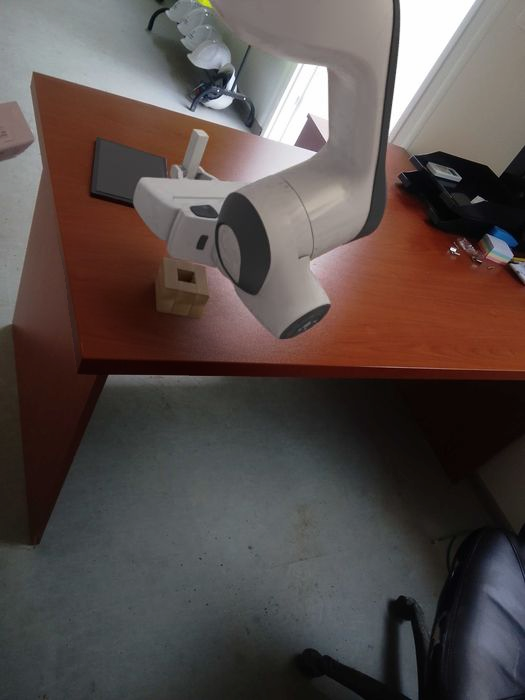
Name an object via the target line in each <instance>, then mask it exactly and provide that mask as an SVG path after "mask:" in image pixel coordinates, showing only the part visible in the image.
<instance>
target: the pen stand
mask: <svg viewBox="0 0 525 700" xmlns="http://www.w3.org/2000/svg"><path fill="white" fill-rule="evenodd" d="M161 259H162V260H161V262H160V265H159V268H158V271H157V273H156V277H155V280H154V285H155V287H154V288H155V307H156V309H155V310H156V312H158V313H164V314H170V315H177V316H182V317H188V318H194V319H200V318H201V316H202V313H203V312H204V310H205V308H206V305H207V303H208V301H209V299H210V296H211V293H210V288H209V281H208V274H207V273H208V272H207V268H206V265H203V264H198V263H194V262H189V261H184V260H179V259H175V258H170V257H165V256H163V257H162V258H161Z"/></svg>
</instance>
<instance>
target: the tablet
mask: <svg viewBox="0 0 525 700" xmlns="http://www.w3.org/2000/svg"><path fill="white" fill-rule="evenodd" d="M92 164H93V166H92V174H91V175H92V177H91V183H90V184H91V186H90V195H89V196H90V197H91V198H94V199H98V200H102V201H106V202H110V203H114V204H116V205H121V206H125V207H129V208H133V209H135V207H134V204H133V199H134V193H135V189H136V186H137V184H138V182H139V180H140V179H141V178H142V177H149V178H169V174H168V163H167V157H163V156H161V155H157V154H155V153H154V154H153V153H151V152H147V151H144V150H141V149H137V148H135V147H131V146H128V145H126V144H122V143H119V142H115V141H112V140H109V139H106V138H103V137H99V136H96V138H95V147H94V156H93V163H92Z"/></svg>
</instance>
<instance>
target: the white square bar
mask: <svg viewBox="0 0 525 700" xmlns="http://www.w3.org/2000/svg"><path fill="white" fill-rule="evenodd" d="M209 139H210V136H209V135H208V133H207V132H206V131H205V130H203V129H198V128H193V129H192V132H191V135H190V138H189V141H188V145H187V146H186V147H187V148H186V150H185V153H184V157H183V160H182V163H181V165H183V166H184V168H185V169H186V170H187V171H188V172H187V176H186V177H185V178H188V179H189V180H194V179H195V176H196V173H197V170H198V167H199V166H200V165H201V162H202V159H203V156H204V153H205V151H206V147H207V145H208V141H209Z"/></svg>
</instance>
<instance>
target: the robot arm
mask: <svg viewBox="0 0 525 700" xmlns="http://www.w3.org/2000/svg"><path fill="white" fill-rule="evenodd" d="M208 2H209V4H210V6H211V7H212V9H213V10H214V13H216V15H217V17H218V18H219V19H220V20H221V21H222V23H223V24H224V25H225V26H226V27H227V28H228V29H229V31H231V32H232V33H233V34H234V35H235V36H237V37H238V38H239V39H240V40H242V41H243V42H245V43H246V44H248V45H249V46H251V47H253V48H254V49H256V50H258V51H260V52H262V53H263V54H266V55H268V56H271V57H273V58H276V59H279V60H281V61H286V62H290V63H294V64H303V65H310V66H317V67H324V68H326V72H327V116H328V117H327V119H328V120H327V121H328V123H327V124H328V138H327V140H326V142H325V143H324V145H322V147H321V148H320V149H319V150H318V151H317V152H316V153H315V154H314V155H312V156H311V157H309V158H307V159H306V160H303V161H302V162H299V163H297V164H295V165H292V166H289V167H288V168H285V169H283V170H281V171H278V172H276V173H273V174H269V175H267V176H264V177H262V178H260V179H257V180H255V181H251V182H249V181H232V180H231V181H229V180H228V181H226V180H220V179H219V178H217V177H215V176H214V175H212V174H210V173H208V172H206V171H205V170H204V168H203V167H202V166H200V165H199V167H198V170H197V173H196V176H195V179H194V180H189V179H188V178H185V177H186V176H187V172H188V171H187V170H186V169H185V168H184V166H183V165H182V164H172V165H171V167H170V170H169V176H170V178H169V177H168V178H149V177H142V178H141V179H140V180H139V182H138V184H137V186H136V189H135V193H134V199H133V204H134V207H135V208H134V209H135V211H136V212H137V214H138V215H139V217H140V218H141V219H142V221H143V222H144V224H145V225H146V226H147V227H148V229H149V230H150V231H151V232H152V233H153V234H154V235H155V237H156V238H158V239H159V240H161V241H164V242H166V243H167V245H166V251H167V253H168V255H169V256H170V257H171V258H172V259H175V260H179V261H184V262H190V263H195V264H200V265H203V266H207V267H210V268H215V269H217V270H218V271H219V272H220V274H221V275H222V276H223V277H224V278H226V279H227V280H229V281H230V282H231V283H232V285H233V288H234V292H235V294H236V295H237V297H238V298H239V300H240V301H241V303H243V305H244V306H245V308H246V309H247V311H249V313H250V314H251V315H252V316H253V317H254V319H256V321H258V323H259V324H260V325H261V326H262V327H263V328H264V329H265V330H266V331H267V332H268V333H269V334H270V335H272V336H273V337H274V338H276V339H278V340H288V339H293V338H296V337H297V336H299V335H301V334H303V333H305V332H306V331H308V330H310V329H312V328H313V327H314V326H316V325H317V324H319V322H321V321H322V320H323V319H324V318H325V317H326V316H327V314H328V313H329V311H330V309H331V306H332V303H331V300H330V298H329V296H328V293H327V292H326V291H325V288H324V287H323V286H322V284H321V282H320V281H319V280H318V277H316V275H315V274H314V272H313V271H312V270H311V261H313V260H315V259H317V258H319V257H321V256H323V255H325V254H327V253H329V252H332V251H333V250H335V249H337V248H339V247H341V246H345V245H348V244H350V243H352V242H355V241H357V240H361V239H363V238H366V237H368V236H371V234H373V233H374V232H375V231H376V230H377V229H378V227H379V226H380V224H381V223H382V220H383V218H384V215H385V211H386V208H387V202H388V183H387V172H386V171H387V170H386V163H387V162H386V161H387V151H388V144H389V143H388V142H389V133H390V128H391V127H390V126H391V118H392V111H393V102H394V94H395V86H396V78H397V76H396V75H397V71H398V60H399V49H400V36H401V2H400V0H208Z"/></svg>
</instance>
